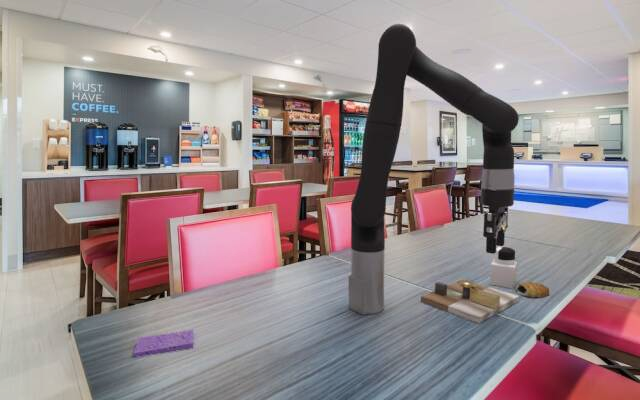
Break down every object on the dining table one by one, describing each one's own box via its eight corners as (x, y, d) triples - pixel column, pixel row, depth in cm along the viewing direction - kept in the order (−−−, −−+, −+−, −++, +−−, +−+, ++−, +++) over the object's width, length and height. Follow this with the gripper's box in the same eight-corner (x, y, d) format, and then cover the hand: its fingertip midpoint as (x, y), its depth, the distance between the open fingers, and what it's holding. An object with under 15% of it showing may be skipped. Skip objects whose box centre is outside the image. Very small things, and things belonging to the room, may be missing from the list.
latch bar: (456, 296, 108) (457, 281, 107) (463, 293, 110) (464, 279, 109) (493, 308, 99) (494, 293, 98) (500, 305, 101) (501, 289, 101)
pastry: (538, 289, 118) (539, 277, 118) (555, 297, 112) (556, 285, 111) (512, 291, 116) (513, 279, 116) (528, 300, 110) (529, 287, 109)
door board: (478, 323, 95) (479, 304, 94) (420, 301, 109) (421, 285, 108) (518, 301, 108) (519, 284, 108) (462, 284, 122) (463, 269, 122)
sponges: (193, 350, 85) (193, 342, 85) (132, 360, 81) (132, 352, 81) (194, 335, 91) (193, 328, 91) (138, 344, 88) (137, 337, 87)
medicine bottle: (516, 282, 124) (518, 247, 122) (514, 289, 118) (516, 252, 116) (492, 278, 128) (494, 244, 126) (489, 284, 122) (491, 249, 120)
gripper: (489, 184, 102) (487, 241, 104) (473, 188, 91) (471, 253, 93) (519, 184, 97) (517, 245, 99) (507, 190, 86) (504, 258, 88)
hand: (495, 249), depth 96 cm, fingers open, 8 cm apart
